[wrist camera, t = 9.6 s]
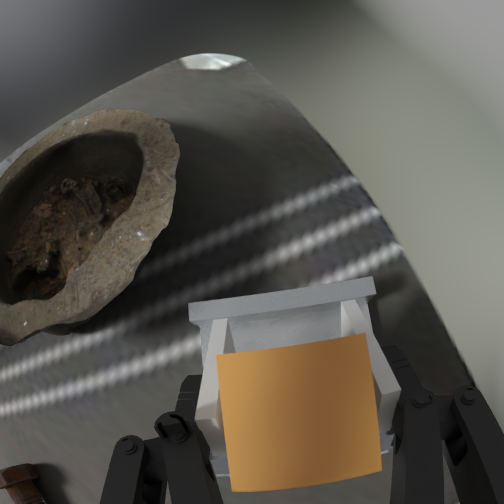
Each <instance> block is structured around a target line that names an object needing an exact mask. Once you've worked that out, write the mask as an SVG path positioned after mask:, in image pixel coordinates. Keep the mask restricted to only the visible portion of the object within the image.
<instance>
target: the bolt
mask: <svg viewBox="0 0 504 504" xmlns="http://www.w3.org/2000/svg"><path fill="white" fill-rule="evenodd" d="M38 477H39V475H38V473H37V471H36V469H35V468H34V466H33V465H31V464H29V463H27V464H21V465H16V466H11V467H8V468H5V469H2V470H0V489H4V488H6V490H7V491H8V493H9V495H10V497H11V498H12V500H13V502H15V504H45V503H44V502H42V501H43V500H42V499H41V496H40V494H39V492H38V490H37V488H36V487H35V485H34V483H33V482H32V480H33V479H36V478H38Z"/></svg>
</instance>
